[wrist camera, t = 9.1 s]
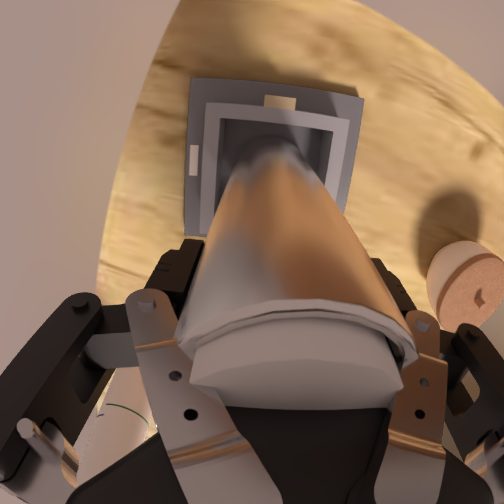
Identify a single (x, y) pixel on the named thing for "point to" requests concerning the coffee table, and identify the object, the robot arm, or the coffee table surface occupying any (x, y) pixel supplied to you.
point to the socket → (258, 125)
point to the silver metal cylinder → (289, 296)
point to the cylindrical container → (117, 424)
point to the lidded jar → (464, 284)
